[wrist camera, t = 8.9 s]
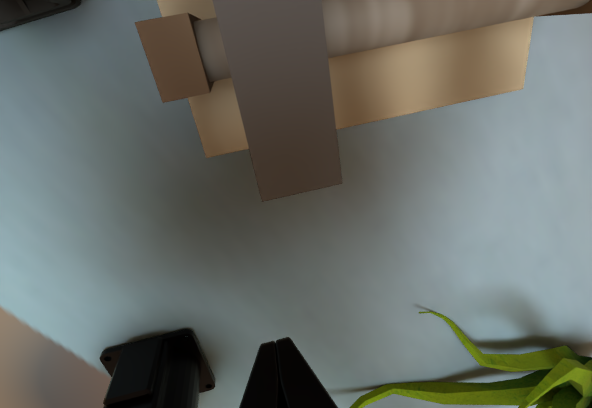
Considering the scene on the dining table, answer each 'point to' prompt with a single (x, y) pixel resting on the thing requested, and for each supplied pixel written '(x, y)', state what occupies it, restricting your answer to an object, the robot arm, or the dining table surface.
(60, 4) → the end cap
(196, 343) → the robot arm
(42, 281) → the dining table surface
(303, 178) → the collar
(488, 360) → the decorative plant
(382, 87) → the pipe stand
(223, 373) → the dining table surface
